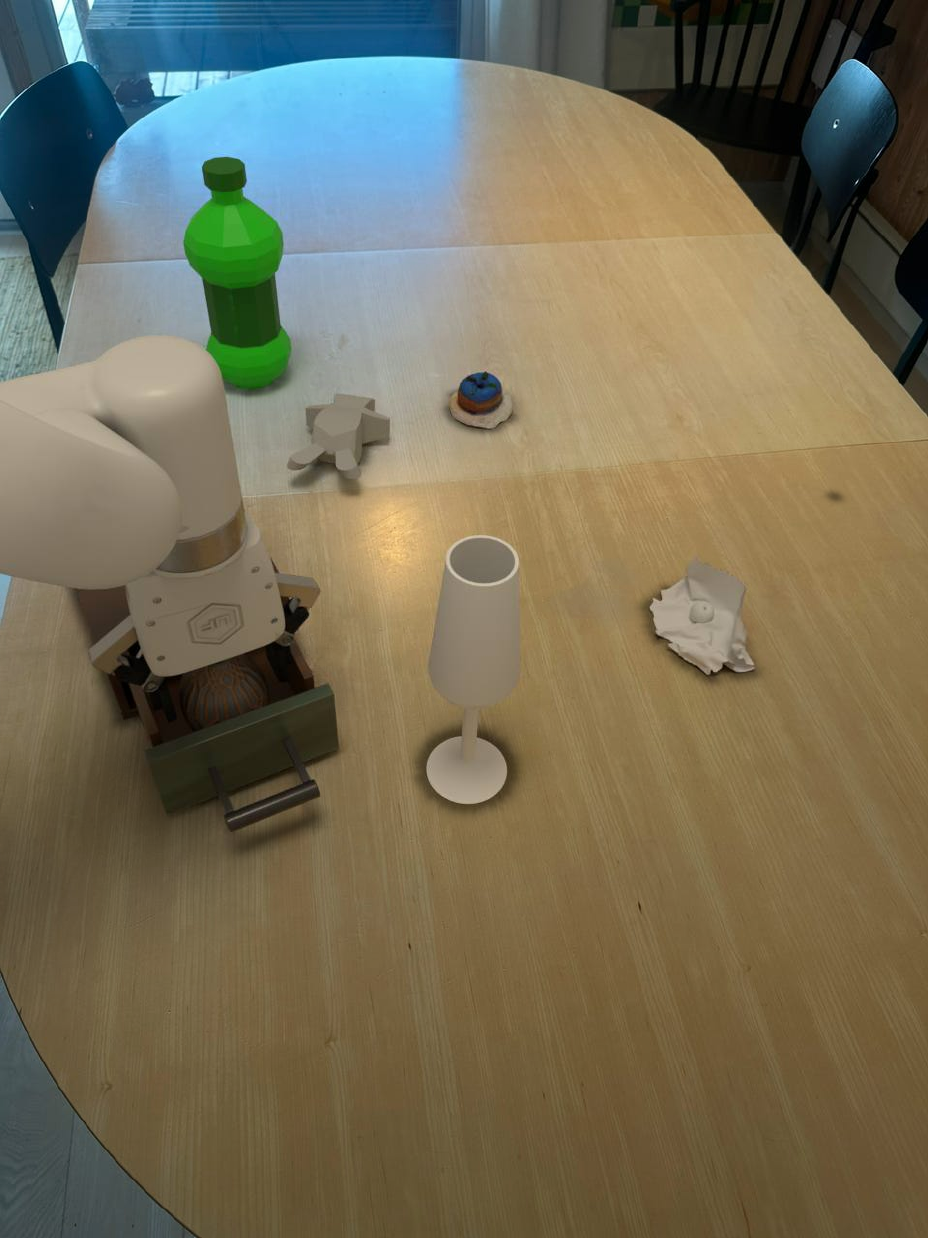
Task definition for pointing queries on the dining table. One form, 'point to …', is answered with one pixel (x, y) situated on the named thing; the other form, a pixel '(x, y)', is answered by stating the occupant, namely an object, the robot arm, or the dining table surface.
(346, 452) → the bunny figurine
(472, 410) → the dessert
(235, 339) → the plastic bottle
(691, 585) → the fabric
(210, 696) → the vase
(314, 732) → the drawer
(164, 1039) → the dining table surface
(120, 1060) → the dining table surface
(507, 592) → the champagne flute
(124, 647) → the robot arm
